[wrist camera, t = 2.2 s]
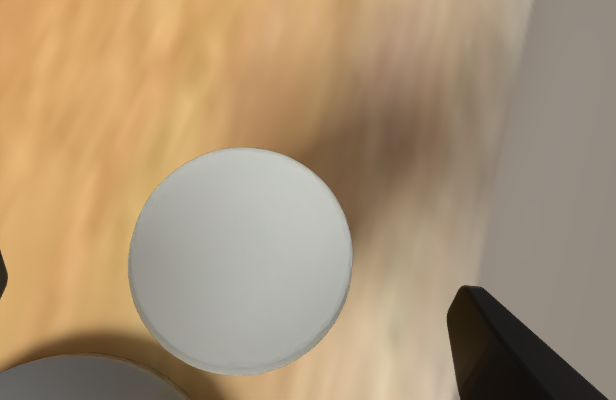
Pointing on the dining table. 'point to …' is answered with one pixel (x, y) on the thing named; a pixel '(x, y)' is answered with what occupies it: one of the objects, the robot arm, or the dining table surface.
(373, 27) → the dining table surface
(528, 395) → the robot arm
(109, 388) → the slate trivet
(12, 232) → the dining table surface
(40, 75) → the dining table surface
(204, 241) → the supplement bottle
